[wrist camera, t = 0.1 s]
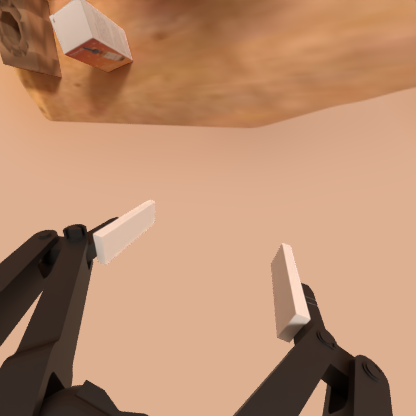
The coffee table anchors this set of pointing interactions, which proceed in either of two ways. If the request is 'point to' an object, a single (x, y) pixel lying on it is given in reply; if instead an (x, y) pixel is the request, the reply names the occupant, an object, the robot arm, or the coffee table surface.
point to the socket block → (28, 36)
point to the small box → (90, 36)
